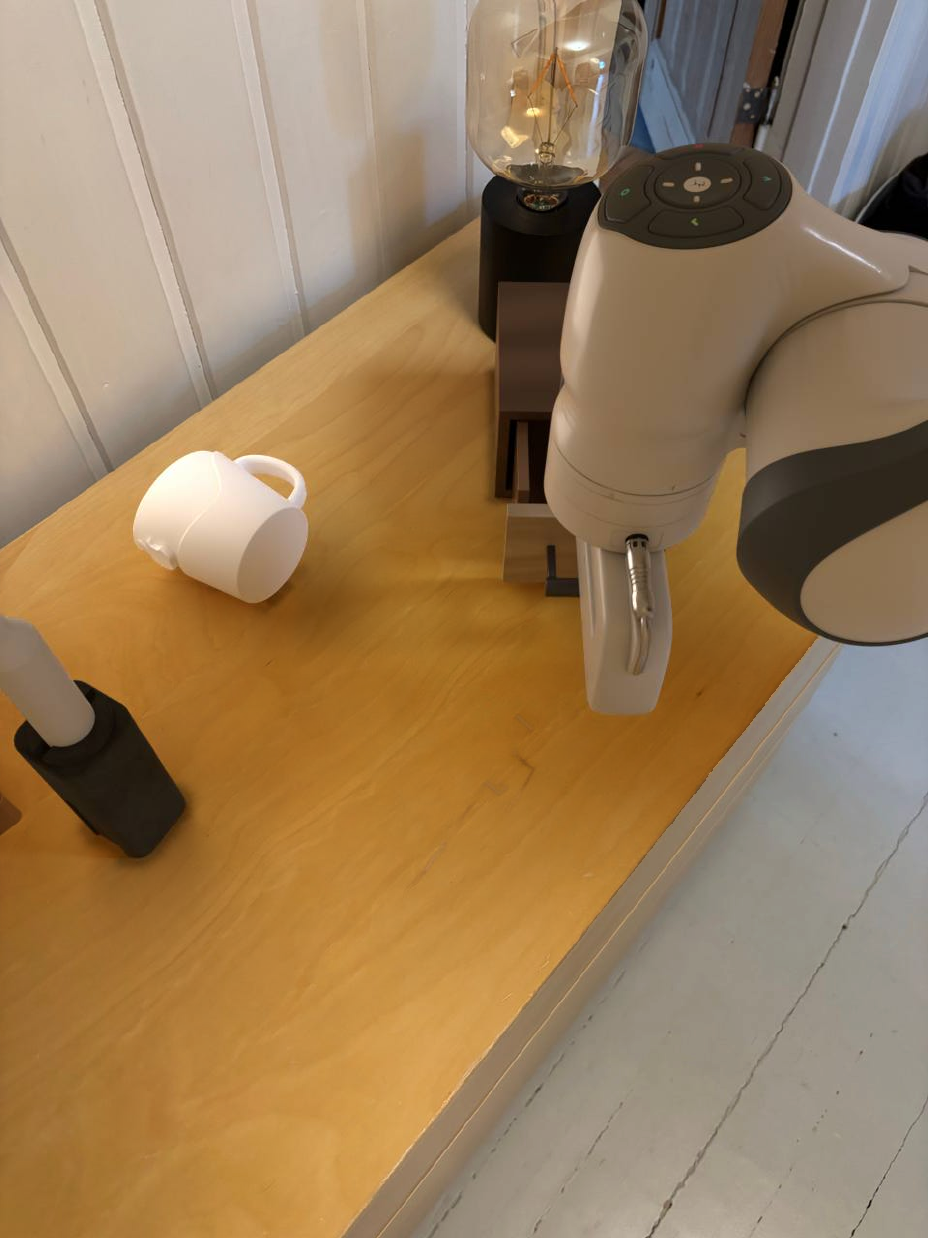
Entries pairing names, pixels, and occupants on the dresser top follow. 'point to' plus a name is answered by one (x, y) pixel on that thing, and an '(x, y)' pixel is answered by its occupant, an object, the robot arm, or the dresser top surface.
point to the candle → (86, 745)
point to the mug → (225, 523)
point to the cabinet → (525, 364)
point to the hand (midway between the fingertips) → (596, 614)
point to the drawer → (536, 520)
